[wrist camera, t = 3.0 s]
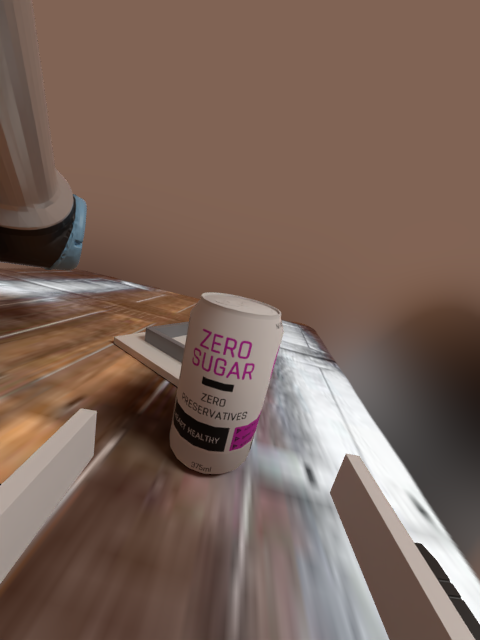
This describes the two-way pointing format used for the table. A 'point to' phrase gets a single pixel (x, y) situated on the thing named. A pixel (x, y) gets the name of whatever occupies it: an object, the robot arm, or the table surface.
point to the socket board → (158, 348)
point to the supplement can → (223, 380)
